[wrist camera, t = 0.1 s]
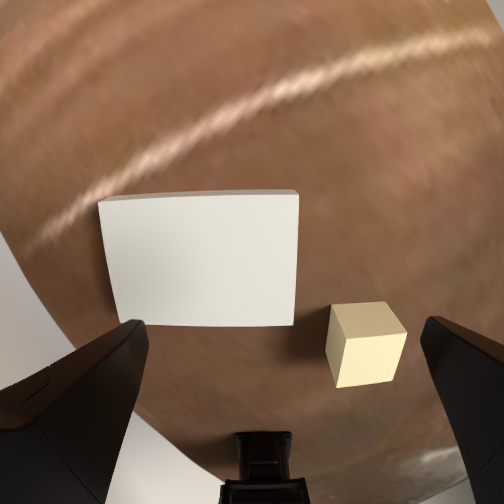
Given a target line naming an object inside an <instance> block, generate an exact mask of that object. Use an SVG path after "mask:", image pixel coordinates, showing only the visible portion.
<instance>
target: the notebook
mask: <svg viewBox="0 0 504 504" xmlns="http://www.w3.org/2000/svg"><path fill="white" fill-rule="evenodd" d="M98 207H99V215H100V222H101V229H102V236H103V242H104V248H105V254H106V260H107V265H108V270H109V275H110V280H111V285H112V290H113V294H114V299H115V303H116V308H117V312H118V316H119V320H120V323H125V322H126V321H128V320H130V319H140V320H143V321H144V323H145V324H151V325H177V326H288V325H293V319H294V303H295V285H296V264H297V240H298V209H299V194H298V193H297V192H296V191H295V190H215V191H188V192H167V193H150V194H134V195H121V196H110V197H108V198H105V199H103V200H101V201H99V202H98Z"/></svg>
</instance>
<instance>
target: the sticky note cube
mask: <svg viewBox="0 0 504 504" xmlns="http://www.w3.org/2000/svg"><path fill="white" fill-rule="evenodd" d="M406 336H407V332H406V330H405V329H404V327H403V326H402V325H401V323H400V322H399V320H398V319H397V317H396V316H395V315H394V313H393V312H392V311H391V309H390V308H389V306H388V305H387V304H386V302H370V303H353V304H333V305H331V312H330V320H329V327H328V335H327V341H326V348H325V352H326V356H327V359H328V362H329V365H330V369H331V372H332V375H333V378H334V382H335V385H336V388H339V387H349V386H357V385H365V384H372V383H379V382H386V381H392V379H393V376H394V374H395V371H396V368H397V365H398V362H399V359H400V355H401V352H402V349H403V346H404V343H405V339H406Z"/></svg>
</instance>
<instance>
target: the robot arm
mask: <svg viewBox="0 0 504 504" xmlns="http://www.w3.org/2000/svg"><path fill="white" fill-rule="evenodd" d="M420 343H421V347H422V350H423V353H424V355H425V358H426V361H427V365H428V368H429V371H430V374H431V377H432V380H433V382H434V385H435V387H436V389H437V392H438V394H439V397H440V399H441V401H442V404H443V406H444V409H445V411H446V414H447V417H448V419H449V422H450V424H451V427H452V430H453V432H454V435H455V438H456V441H457V444H458V446H459V449H460V452H461V455H462V458H463V461H464V464H465V467H466V471H467V474H468V477H469V480H470V484H471V488H472V491H473V495H474V499H475V503H476V504H504V345H502V344H500V343H498V342H496V341H494V340H491V339H489V338H487V337H485V336H483V335H480V334H478V333H476V332H474V331H472V330H469V329H467V328H465V327H463V326H461V325H458V324H456V323H454V322H452V321H449V320H447V319H445V318H443V317H441V316H430V317H428V318H427V319H426V322H425V325H424V328H423V331H422V334H421V338H420ZM148 349H149V341H148V336H147V331H146V326H145V323H144V321H143V320H140V319H130V320H128V321H126V322H125V323H123V324H121V325H119V326H117V327H116V328H114V329H112V330H110V331H109V332H107V333H105V334H103V335H102V336H100V337H98V338H96V339H95V340H93V341H91V342H89V343H88V344H86V345H84V346H82V347H81V348H79V349H77V350H75V351H74V352H72V353H70V354H69V355H67V356H65V357H63V358H61V359H60V360H58V361H56V362H54V363H53V364H51V365H50V367H49V366H47V367H45V368H44V369H42V370H40V371H38V372H37V373H35V374H33V375H31V376H29V377H27V378H26V379H23V380H21V381H19V382H17V383H15V384H13V385H11V386H9V387H6V388H4V389H2V390H0V504H105V501H106V497H107V493H108V490H109V486H110V483H111V479H112V476H113V472H114V469H115V465H116V462H117V459H118V455H119V452H120V449H121V445H122V442H123V439H124V436H125V433H126V430H127V426H128V423H129V420H130V417H131V414H132V411H133V408H134V405H135V402H136V399H137V396H138V393H139V390H140V386H141V381H142V377H143V372H144V367H145V363H146V358H147V354H148ZM291 440H292V433H291V432H278V433H238V434H236V448H237V458H238V461H240V464H239V480H230V479H226V481H225V484H224V485H221V488H220V489H221V490H220V498H219V503H218V504H310V499H309V495H308V491H307V486H306V482H305V478H304V477H303V478H299V479H290V474H289V463H288V459H289V453H290V447H291Z"/></svg>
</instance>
